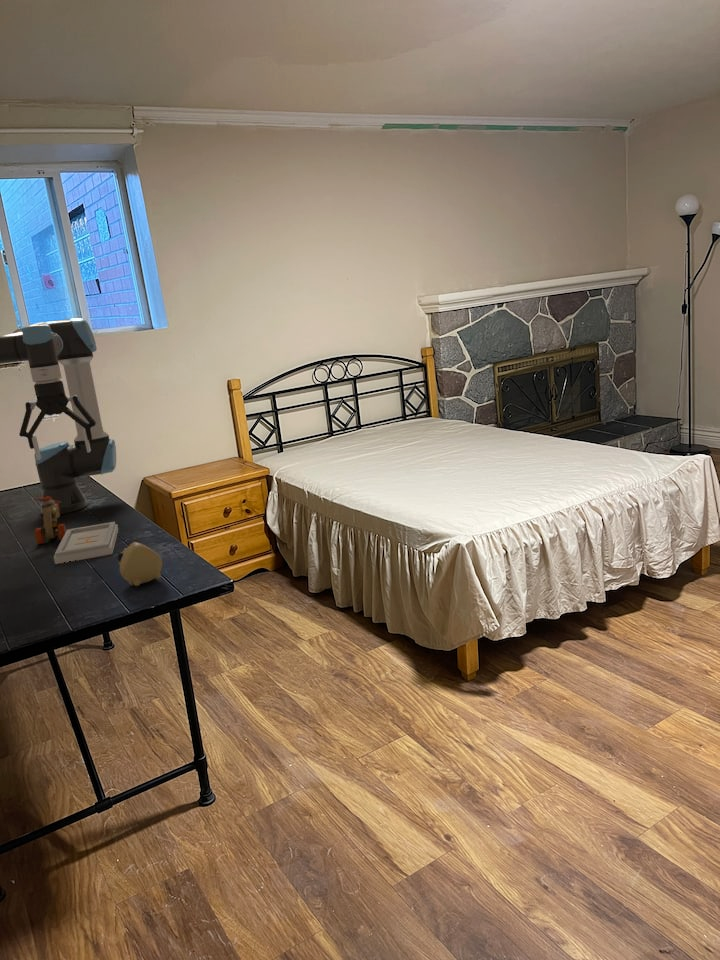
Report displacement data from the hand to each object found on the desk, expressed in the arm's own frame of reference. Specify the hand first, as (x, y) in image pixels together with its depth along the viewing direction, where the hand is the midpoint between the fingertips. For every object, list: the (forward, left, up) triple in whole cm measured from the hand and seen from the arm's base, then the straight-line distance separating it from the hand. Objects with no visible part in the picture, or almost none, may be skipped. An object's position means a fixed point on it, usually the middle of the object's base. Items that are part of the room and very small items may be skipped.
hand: (64, 455), depth 201 cm
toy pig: (+44, +19, -27) cm, 55 cm away
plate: (+5, +2, -27) cm, 27 cm away
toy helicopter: (-13, -10, -27) cm, 31 cm away
